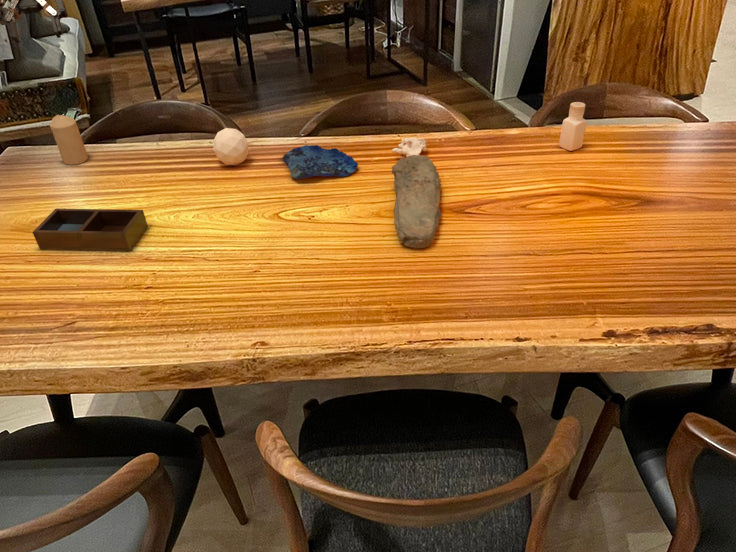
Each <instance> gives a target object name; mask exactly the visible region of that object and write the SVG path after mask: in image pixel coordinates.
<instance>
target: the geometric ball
mask: <svg viewBox="0 0 736 552" xmlns="http://www.w3.org/2000/svg"><path fill="white" fill-rule="evenodd" d="M212 149H213V150H212V151H213V152H214V154H215V156H216V158H217V160H219V161H220V162H221V163H223V164H224V165H225V166H238V165H240V164H241V163H243V162H245V160H246V158H247V157H248V155H249V142H248V140H247V138H246V136H245V134H244V133H242V132H241V131H240V130H238V129H237V128H231V127H225V128H223V129H221V130H219V131H217V133H216V135H215V137H214V138H213V142H212Z"/></svg>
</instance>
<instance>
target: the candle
mask: <svg viewBox="0 0 736 552" xmlns="http://www.w3.org/2000/svg"><path fill="white" fill-rule="evenodd" d="M49 128H50V130H51V132H52V135H53V138H54V140H55V144H56V147H57V149H58V151H59V154H60V157H61V160H62V161H63V163H64V164H65V165H71V166H73V165H80V164H82V163H85V162H86V161H87V160H88V159H89V156H88V152H87V150H86V146H85V144H84V141H83V138H82V134H81V132H80V130H79V127H78V124H77V121H76V119H74V118H72V117H70V116H66V115H62V114H56V115H55V116H53V118H52V119H51V121H50V122H49Z"/></svg>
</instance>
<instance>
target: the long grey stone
mask: <svg viewBox="0 0 736 552" xmlns="http://www.w3.org/2000/svg"><path fill="white" fill-rule="evenodd" d="M391 174H393V178H394V179H393V186H394V192H395V201H394V207H393V214H394V215H393V217H394V220H393V224H394V228H395V230H396V232H397V238H398V242H401V243H402V244H403V245H404V246H406V247H407V248H411V249H424V248H428V247H430V245H432V243H433V241H434V240H435V238H436V236H437V235H436V231H438V230H439V222H440V219H441V217H442V212H441V209H440V202H441V191H442V189H441V186H442V185H441V184H442V183H441V182H442V180H441V178H440V174H439V172H438V171H437V166H436V165H435V164H434V162H433V160H432V159H430V158H429V157H427V155H421V154H419V155H411V156H408V157H401V158H400V159H398V160H397V161H396V163H395V164H393V165H392V167H391Z"/></svg>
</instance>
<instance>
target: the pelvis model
mask: <svg viewBox="0 0 736 552" xmlns="http://www.w3.org/2000/svg"><path fill="white" fill-rule="evenodd" d="M427 145H428V141H427V140H426V139H425V138H423V137H418V138H417V137H414V136H411V137H404V138H401V142H400V143H398V145H397V147H394V148H392V149H391V151H392V153H394V154H395V153H396V154H399V155H403V156H406V157H408V156H411V155H421V152H427ZM406 157H405V158H406Z"/></svg>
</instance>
